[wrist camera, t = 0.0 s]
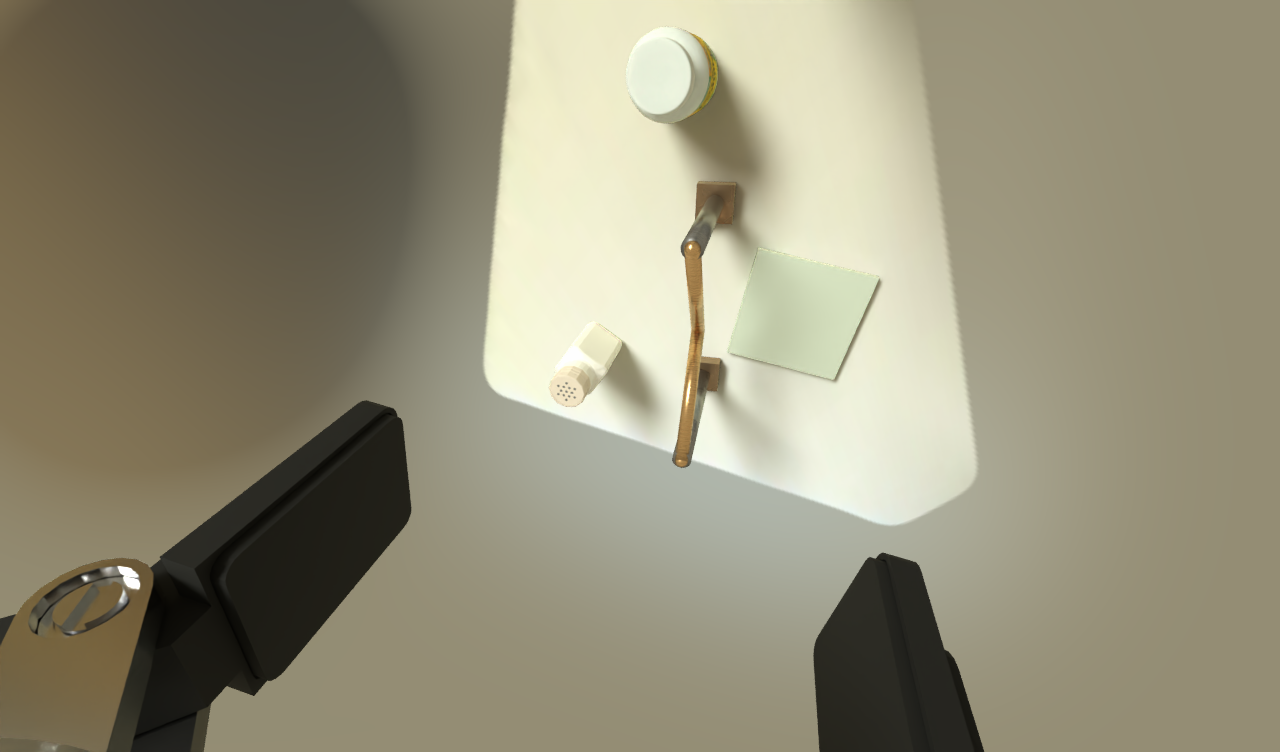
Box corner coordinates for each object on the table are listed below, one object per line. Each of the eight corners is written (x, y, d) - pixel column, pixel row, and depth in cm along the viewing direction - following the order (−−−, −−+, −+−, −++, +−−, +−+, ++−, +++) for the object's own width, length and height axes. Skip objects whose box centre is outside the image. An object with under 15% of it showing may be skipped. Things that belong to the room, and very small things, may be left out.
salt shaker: (626, 341, 50) (597, 390, 42) (605, 367, 52) (574, 419, 44) (593, 316, 50) (558, 362, 42) (573, 344, 52) (536, 392, 44)
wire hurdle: (698, 181, 41) (666, 223, 29) (736, 182, 41) (719, 226, 29) (688, 381, 51) (660, 477, 39) (718, 385, 50) (699, 483, 38)
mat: (758, 247, 43) (758, 249, 42) (878, 276, 42) (879, 278, 41) (727, 349, 48) (727, 352, 48) (833, 376, 47) (833, 380, 47)
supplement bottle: (649, 32, 37) (614, 19, 29) (723, 34, 36) (708, 21, 28) (646, 115, 40) (613, 124, 32) (715, 119, 39) (699, 129, 31)
